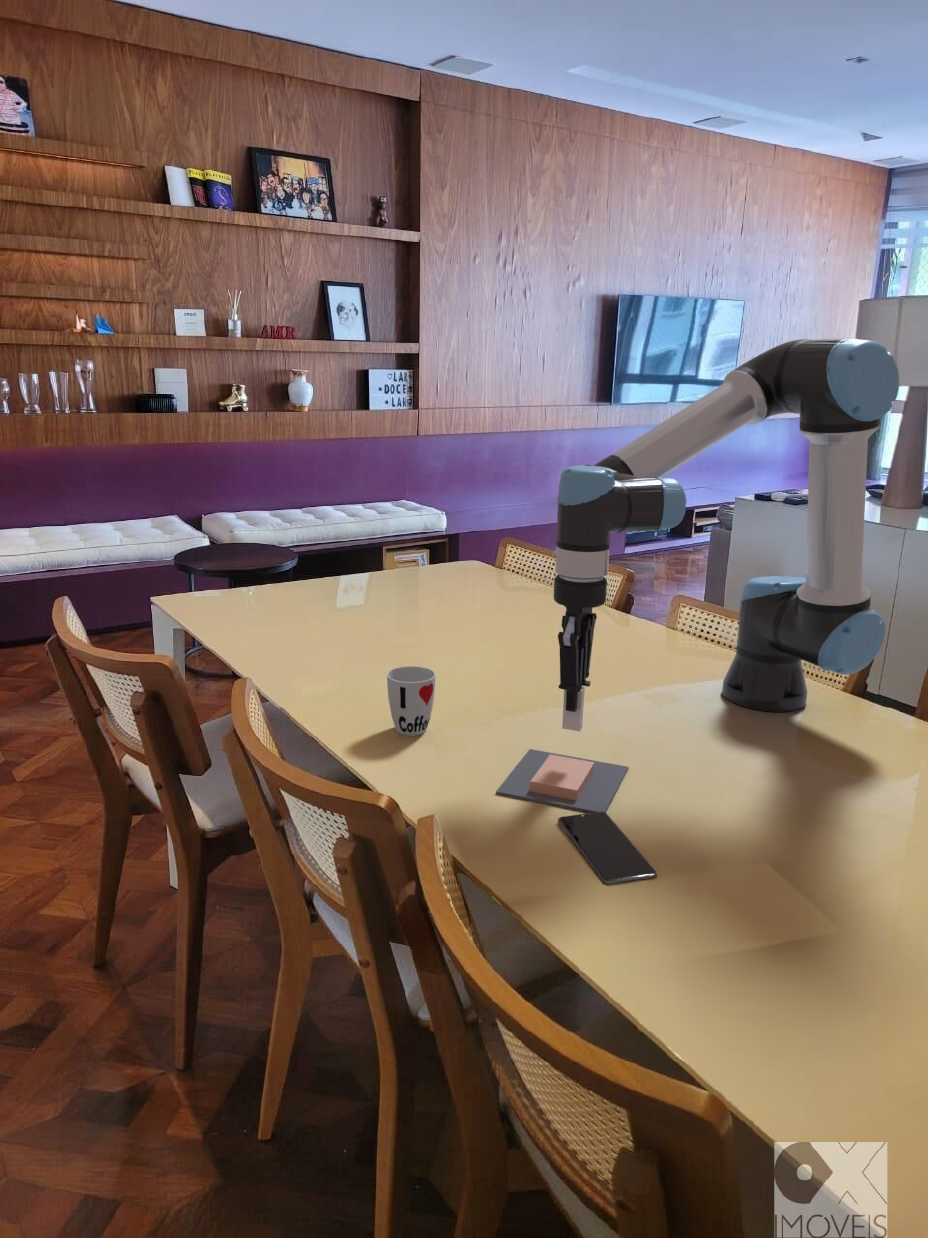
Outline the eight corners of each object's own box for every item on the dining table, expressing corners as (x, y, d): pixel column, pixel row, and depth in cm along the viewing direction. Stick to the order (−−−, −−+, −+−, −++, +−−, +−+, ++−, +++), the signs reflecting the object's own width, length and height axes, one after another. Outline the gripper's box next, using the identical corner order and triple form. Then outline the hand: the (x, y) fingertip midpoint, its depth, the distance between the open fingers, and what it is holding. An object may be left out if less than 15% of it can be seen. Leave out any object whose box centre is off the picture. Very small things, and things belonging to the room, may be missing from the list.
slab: (594, 762, 138) (577, 790, 129) (593, 772, 139) (576, 800, 130) (550, 754, 141) (530, 781, 132) (549, 763, 141) (529, 791, 132)
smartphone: (605, 882, 110) (556, 816, 124) (604, 890, 110) (555, 823, 125) (660, 874, 112) (605, 810, 126) (659, 881, 112) (604, 817, 127)
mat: (628, 769, 141) (628, 766, 141) (604, 815, 126) (604, 813, 126) (529, 751, 146) (529, 748, 146) (495, 793, 132) (496, 791, 132)
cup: (392, 741, 149) (391, 684, 146) (383, 722, 156) (382, 667, 153) (440, 737, 151) (440, 680, 148) (428, 718, 158) (429, 664, 156)
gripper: (567, 564, 137) (560, 709, 144) (542, 583, 126) (535, 740, 132) (616, 569, 135) (606, 717, 141) (595, 589, 123) (585, 749, 130)
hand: (572, 728), depth 137 cm, fingers closed
